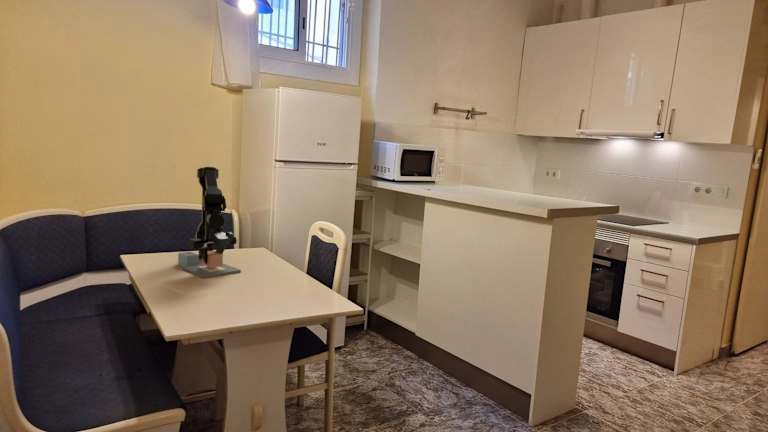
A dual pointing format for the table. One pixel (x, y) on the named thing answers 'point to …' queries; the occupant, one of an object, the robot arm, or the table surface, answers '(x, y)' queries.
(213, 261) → the brick
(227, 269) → the baseplate
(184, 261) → the brick
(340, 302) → the table surface
